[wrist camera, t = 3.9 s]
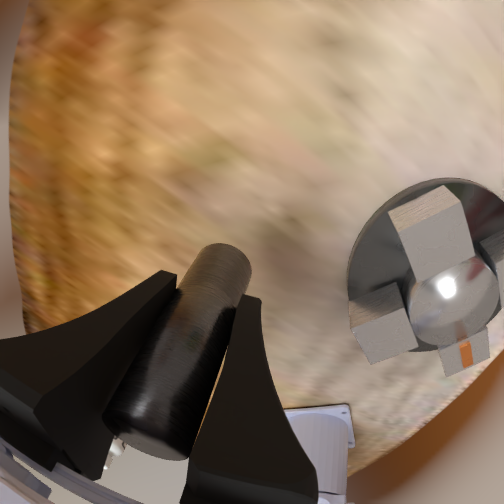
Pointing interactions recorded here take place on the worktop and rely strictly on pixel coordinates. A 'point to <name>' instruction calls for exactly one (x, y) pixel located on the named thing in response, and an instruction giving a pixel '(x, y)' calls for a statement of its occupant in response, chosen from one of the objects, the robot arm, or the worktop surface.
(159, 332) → the black pin
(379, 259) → the dome plinth
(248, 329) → the robot arm
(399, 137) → the worktop surface
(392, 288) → the tabbed chrome dome
